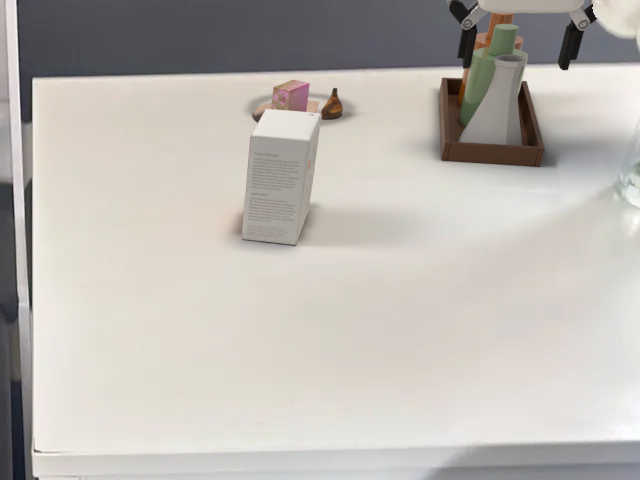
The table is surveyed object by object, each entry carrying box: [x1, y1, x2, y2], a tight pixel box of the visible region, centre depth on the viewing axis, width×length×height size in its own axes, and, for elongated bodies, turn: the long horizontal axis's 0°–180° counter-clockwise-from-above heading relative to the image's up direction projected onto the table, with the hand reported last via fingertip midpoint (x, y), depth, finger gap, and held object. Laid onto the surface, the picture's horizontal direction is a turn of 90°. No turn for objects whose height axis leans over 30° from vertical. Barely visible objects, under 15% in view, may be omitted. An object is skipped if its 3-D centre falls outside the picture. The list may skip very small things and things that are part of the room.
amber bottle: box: [457, 12, 525, 107], centre depth 118 cm, size 6×6×11 cm
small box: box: [241, 109, 322, 246], centre depth 93 cm, size 8×6×10 cm
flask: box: [458, 54, 527, 146], centre depth 106 cm, size 7×7×10 cm
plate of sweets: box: [251, 79, 344, 123], centre depth 121 cm, size 12×12×4 cm
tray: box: [438, 77, 546, 168], centre depth 114 cm, size 10×25×3 cm, turn 162°
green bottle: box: [458, 23, 529, 127], centre depth 113 cm, size 6×6×11 cm
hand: (513, 66), depth 103 cm, fingers open, 9 cm apart
